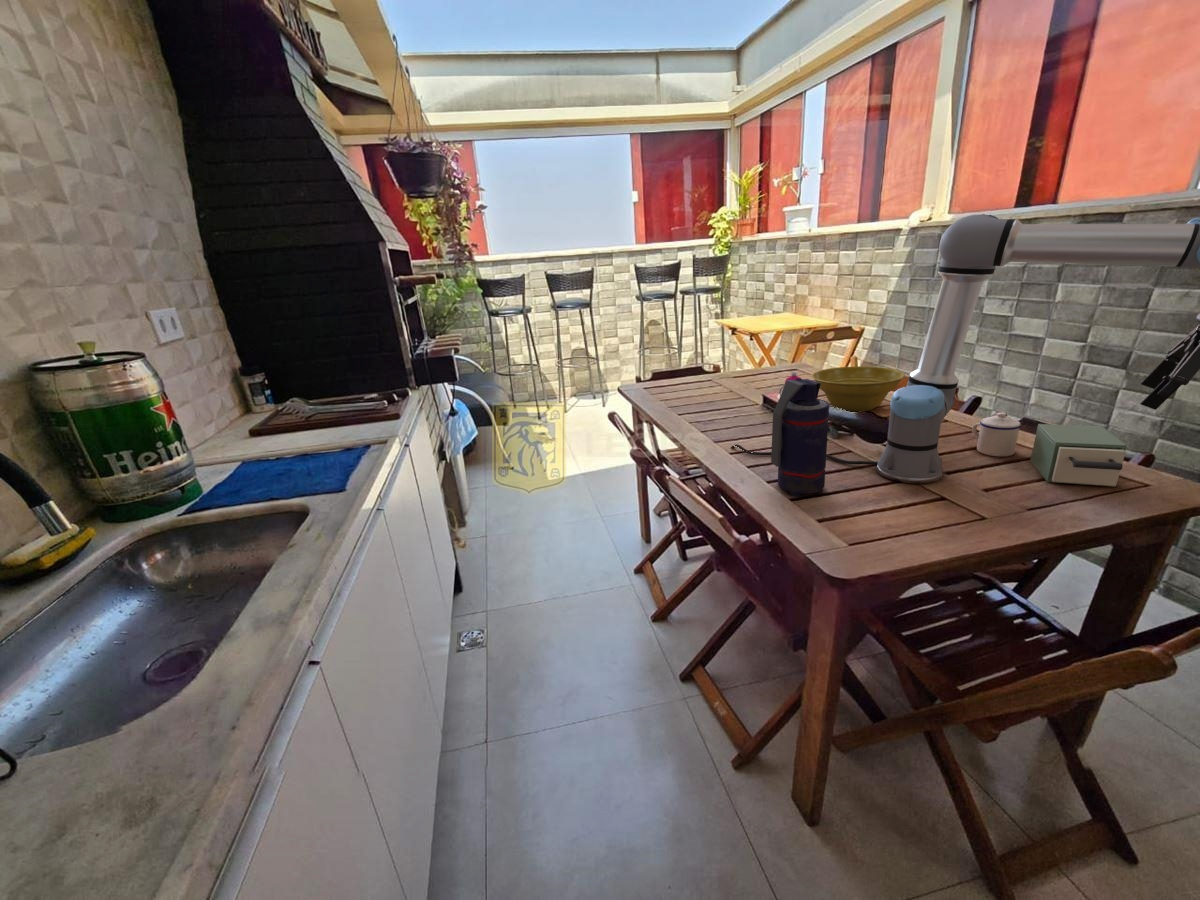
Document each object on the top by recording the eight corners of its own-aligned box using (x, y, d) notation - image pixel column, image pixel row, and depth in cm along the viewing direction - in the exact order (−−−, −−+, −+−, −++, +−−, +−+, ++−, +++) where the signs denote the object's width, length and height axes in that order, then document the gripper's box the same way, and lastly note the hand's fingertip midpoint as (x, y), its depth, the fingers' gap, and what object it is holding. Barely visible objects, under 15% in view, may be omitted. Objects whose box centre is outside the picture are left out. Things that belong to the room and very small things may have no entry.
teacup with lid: (1023, 453, 139) (1031, 414, 135) (998, 459, 137) (1006, 420, 133) (982, 441, 150) (988, 404, 146) (958, 446, 148) (964, 409, 144)
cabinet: (1115, 486, 117) (1127, 445, 113) (1046, 481, 122) (1056, 442, 119) (1091, 463, 129) (1101, 425, 125) (1030, 460, 134) (1038, 423, 131)
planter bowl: (820, 394, 215) (822, 364, 211) (905, 399, 197) (909, 366, 192) (801, 415, 191) (802, 381, 187) (896, 422, 173) (900, 385, 168)
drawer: (1125, 494, 111) (1135, 459, 108) (1059, 489, 116) (1067, 455, 113) (1093, 464, 126) (1102, 432, 123) (1036, 461, 131) (1043, 430, 128)
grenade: (808, 476, 140) (812, 373, 129) (833, 493, 129) (841, 381, 118) (763, 484, 138) (764, 380, 128) (785, 502, 127) (788, 389, 117)
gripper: (1270, 331, 89) (1170, 424, 102) (1252, 301, 104) (1167, 385, 117) (1216, 316, 92) (1126, 407, 106) (1206, 288, 107) (1128, 372, 121)
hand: (1147, 396), depth 112 cm, fingers open, 13 cm apart
